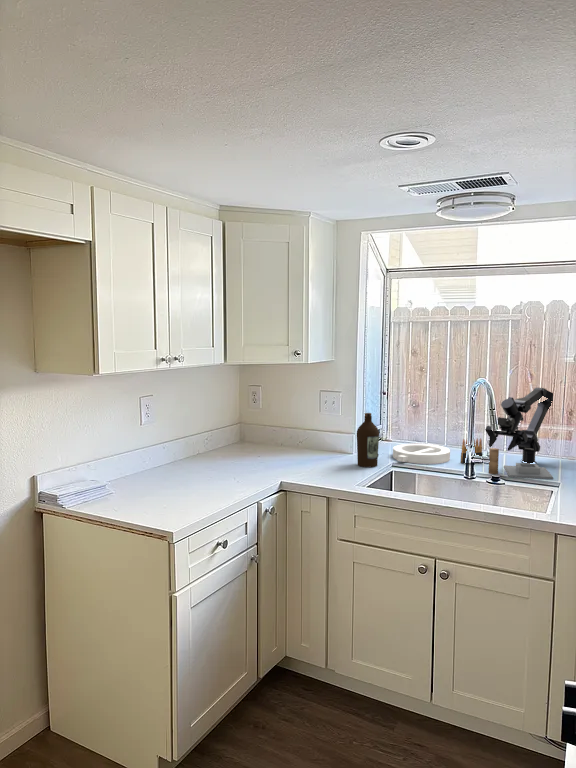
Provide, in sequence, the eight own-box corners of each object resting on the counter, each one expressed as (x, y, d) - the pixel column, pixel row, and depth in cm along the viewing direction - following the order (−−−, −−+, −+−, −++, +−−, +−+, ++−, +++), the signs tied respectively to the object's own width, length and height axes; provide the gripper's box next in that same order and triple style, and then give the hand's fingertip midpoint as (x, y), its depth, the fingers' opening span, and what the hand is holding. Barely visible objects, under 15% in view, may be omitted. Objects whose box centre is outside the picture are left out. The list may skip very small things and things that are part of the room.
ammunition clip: (462, 463, 287) (462, 439, 286) (460, 462, 289) (461, 438, 288) (482, 462, 289) (483, 438, 288) (480, 461, 291) (481, 437, 290)
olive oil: (351, 464, 285) (352, 412, 282) (368, 461, 291) (369, 411, 288) (366, 468, 276) (367, 415, 274) (383, 466, 282) (384, 413, 279)
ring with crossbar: (442, 452, 314) (442, 443, 313) (456, 465, 286) (456, 455, 285) (389, 452, 314) (389, 443, 314) (397, 464, 286) (397, 454, 286)
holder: (503, 467, 279) (504, 460, 279) (544, 469, 275) (545, 462, 275) (509, 476, 261) (509, 469, 261) (553, 479, 257) (553, 471, 257)
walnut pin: (488, 471, 271) (488, 447, 270) (497, 472, 270) (498, 448, 269) (489, 473, 267) (489, 449, 266) (498, 474, 266) (499, 450, 265)
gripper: (488, 408, 279) (474, 434, 273) (525, 413, 265) (511, 440, 259) (496, 423, 285) (482, 449, 279) (533, 428, 271) (520, 455, 265)
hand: (498, 448), depth 270 cm, fingers open, 9 cm apart
